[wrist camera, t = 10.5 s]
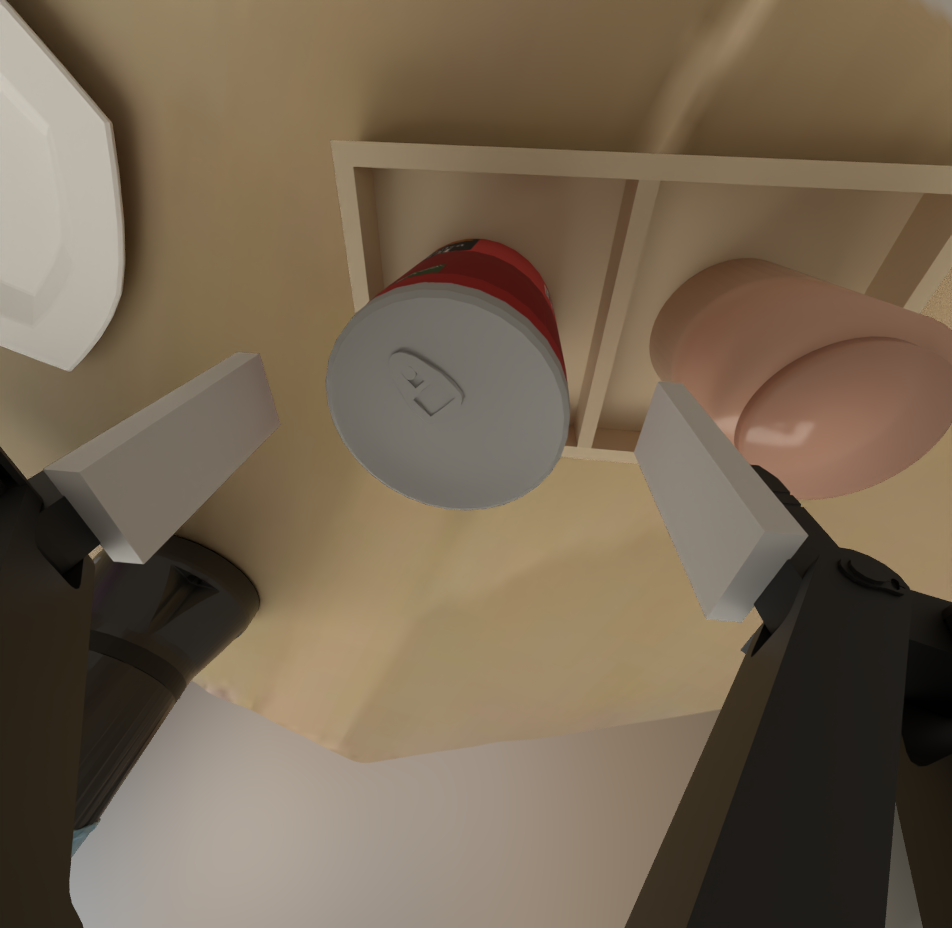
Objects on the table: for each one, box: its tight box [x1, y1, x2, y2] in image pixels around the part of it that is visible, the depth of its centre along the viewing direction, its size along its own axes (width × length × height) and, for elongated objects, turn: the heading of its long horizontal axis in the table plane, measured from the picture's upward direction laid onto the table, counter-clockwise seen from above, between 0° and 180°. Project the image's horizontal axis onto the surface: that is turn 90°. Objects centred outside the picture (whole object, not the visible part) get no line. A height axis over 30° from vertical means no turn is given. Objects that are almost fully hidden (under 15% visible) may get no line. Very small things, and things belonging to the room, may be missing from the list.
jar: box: [649, 258, 952, 500], centre depth 16 cm, size 7×7×10 cm
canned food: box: [326, 239, 571, 510], centre depth 17 cm, size 8×8×11 cm
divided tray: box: [330, 140, 952, 464], centre depth 20 cm, size 25×14×3 cm, turn 88°
